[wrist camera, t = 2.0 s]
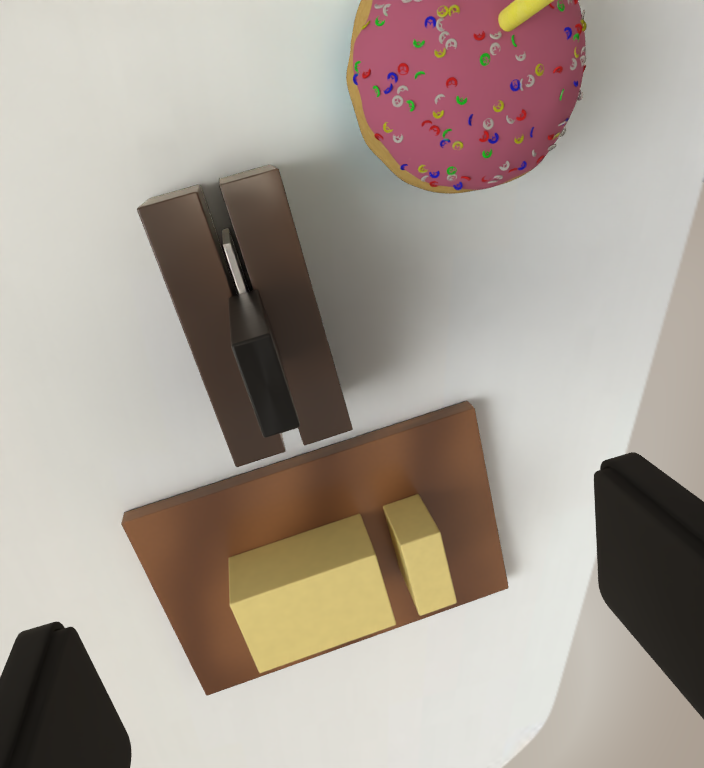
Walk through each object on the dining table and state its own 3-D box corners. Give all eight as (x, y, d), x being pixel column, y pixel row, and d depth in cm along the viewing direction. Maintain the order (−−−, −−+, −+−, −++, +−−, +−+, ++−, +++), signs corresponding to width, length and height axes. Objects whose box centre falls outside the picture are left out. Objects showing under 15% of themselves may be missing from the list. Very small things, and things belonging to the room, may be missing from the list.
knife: (239, 224, 26) (250, 270, 17) (285, 371, 29) (317, 478, 20) (211, 233, 26) (207, 282, 17) (261, 378, 29) (281, 490, 20)
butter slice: (418, 493, 32) (440, 531, 29) (435, 559, 34) (457, 603, 31) (382, 505, 32) (400, 546, 29) (400, 571, 34) (419, 617, 30)
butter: (359, 512, 32) (375, 554, 28) (379, 579, 33) (396, 625, 30) (228, 557, 31) (229, 604, 28) (255, 622, 33) (259, 674, 30)
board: (467, 400, 32) (475, 407, 31) (501, 577, 36) (509, 588, 36) (123, 512, 30) (120, 523, 29) (206, 681, 35) (206, 696, 34)
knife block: (269, 164, 26) (278, 167, 22) (336, 395, 30) (353, 430, 26) (148, 198, 25) (136, 208, 22) (233, 428, 30) (236, 468, 26)
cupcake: (350, -70, 23) (469, -258, 12) (549, -10, 25) (798, -124, 15) (312, 166, 26) (381, 184, 15) (494, 202, 28) (669, 242, 17)
